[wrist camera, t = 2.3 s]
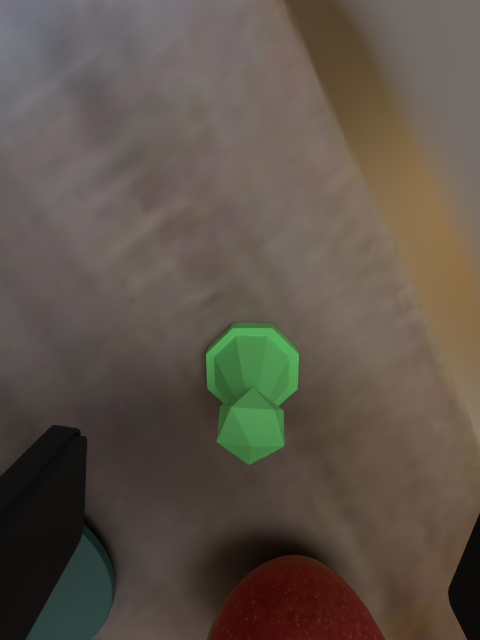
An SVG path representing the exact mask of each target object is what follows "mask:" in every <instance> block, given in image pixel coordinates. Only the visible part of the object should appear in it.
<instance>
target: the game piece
mask: <svg viewBox="0 0 480 640" xmlns="http://www.w3.org/2000/svg"><path fill="white" fill-rule="evenodd" d="M298 366H299V353H298V350H297V348H296V347H295V346H294V345H293V344H292V343H291V342H290V341H289V340H288V339H287V338H286V337H285V336H284V335H283V334H282V333H281V332H280V331H279V330H278V329H277V328H276V327H275V326H274V325H273V324H272V323H233V324H232V325H231V326H230V327H229V328H228V329H227V330H226V331H225V332H224V333H223V334H222V335H220V336H219V337H218V338H217V339H216V340H215V341H214V342H213V343H212V344H211V345H210V346H209V347H208V349H207V352H206V371H207V389H208V390H209V391H210V392H211V393H212V394H214V395H215V396H216V397H217V398H218V399H219V400H220V401H221V402H223V403H224V404H223V405H221V406H220V410H219V420H218V430H217V441H216V442H217V443H219V444H220V445H221V446H223V447H224V448H226V449H227V450H228V451H230V452H231V453H233V454H234V455H235V456H237V457H238V458H240V459H241V460H242V461H244V462H245V463H247V464H248V465H250V464H252V463H254V462H256V461H258V460H260V459H262V458H263V457H265V456H267V455H269V454H271V453H273V452H275V451H277V450H279V449H280V448H282V447H284V410H282V409H281V408H280V407H278V406H279V405H280V404H281V403H282V402H284V401H285V400H286V399H287V398H288V397H289V396H291V395H292V394H293V393H294V392H295V391H296V390H297V389H298Z"/></svg>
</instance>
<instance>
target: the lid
mask: <svg viewBox="0 0 480 640" xmlns="http://www.w3.org/2000/svg"><path fill="white" fill-rule="evenodd" d="M114 595H115V577H114V571H113V567H112V565H111V562H110V559H109V557H108V555H107V553H106V551H105V549H104V547H103V546H102V544H101V543H100V542H99V540H98V539H97V537H96V536H95V535H94V534H93V533H92V532H91V531H90V530H89V529H88V528H87V527H86V526H85V525H84V529H83V534H82V537H81V540H80V542H79V544H78V546H77V548H76V550H75V552H74V554H73V555H72V557H71V559H70V561H69V563H68V564H67V566H66V568H65V570H64V572H63V573H62V575H61V577H60V579H59V581H58V582H57V584H56V586H55V588H54V590H53V591H52V593H51V595H50V597H49V599H48V600H47V602H46V604H45V606H44V608H43V609H42V611H41V613H40V615H39V617H38V618H37V620H36V622H35V624H34V626H33V627H32V629H31V631H30V633H29V634H28V636H27V638H26V640H89V639H90V638H92V637H93V636H94V635H95V634H96V633H97V632H98V631H99V629H100V628H101V627H102V626H103V624H104V622H105V621H106V619H107V617H108V615H109V612H110V609H111V606H112V603H113V601H114Z"/></svg>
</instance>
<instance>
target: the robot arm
mask: <svg viewBox="0 0 480 640" xmlns="http://www.w3.org/2000/svg"><path fill="white" fill-rule="evenodd" d="M86 455H87V439H86V437H85V436H81V432H80V430H79V429H77V428H71V427H65V426H59V425H53V426H51V427H50V428H49V429H48V430H47V431H46V432H45V433H44V434H43V435H42V436H41V437H40V438H39V439H38V440H37V441H36V442H35V443H34V444H33V445H32V446H31V447H30V448H29V449H28V450H27V451H26V452H25V453H24V454H23V455H22V456H21V457H20V458H19V459H18V460H17V461H16V462H15V463H14V464H13V465H12V466H11V467H10V468H9V469H8V470H7V471H6V472H5V473H4V474H3V475H2V476H0V640H26V638H27V636H28V634H29V633H30V631H31V629H32V627H33V626H34V624H35V622H36V620H37V618H38V617H39V615H40V613H41V611H42V609H43V608H44V606H45V604H46V602H47V600H48V599H49V597H50V595H51V593H52V591H53V590H54V588H55V586H56V584H57V582H58V581H59V579H60V577H61V575H62V573H63V572H64V570H65V568H66V566H67V564H68V563H69V561H70V559H71V557H72V555H73V554H74V552H75V550H76V548H77V546H78V544H79V542H80V540H81V537H82V534H83V529H84V509H85V482H86ZM448 595H449V602H450V605H451V607H452V610H453V612H454V614H455V616H456V618H457V620H458V622H459V624H460V626H461V628H462V630H463V632H464V634H465V636H466V638H467V640H480V514H479V516H478V519H477V521H476V523H475V526H474V528H473V531H472V533H471V536H470V538H469V540H468V543H467V545H466V548H465V550H464V552H463V555H462V557H461V560H460V562H459V565H458V567H457V569H456V572H455V574H454V577H453V579H452V582H451V584H450V586H449V591H448Z"/></svg>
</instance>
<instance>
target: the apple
mask: <svg viewBox="0 0 480 640" xmlns="http://www.w3.org/2000/svg"><path fill="white" fill-rule="evenodd" d="M207 640H385V639H384V637H383V635H382V633H381V631H380V629H379V627H378V626H377V624H376V622H375V621H374V619H373V617H372V616H371V614H370V612H369V611H368V609H367V608H366V606H365V605H364V604H363V602H362V601H361V599H360V598H359V597H358V596H357V594H356V593H355V592H354V591H353V590H352V588H351V587H350V586H349V585H348V584H347V583H346V582H345V580H344V579H342V578H341V577H340V576H339V575H338V574H337V573H336V572H334V571H333V570H332V569H331V568H329V567H328V566H326V565H324V564H323V563H321V562H319V561H318V560H315V559H313V558H310V557H306V556H301V555H284V556H280V557H277V558H274V559H272V560H269V561H267V562H265V563H263V564H261V565H260V566H258V567H257V568H255V569H254V570H252V571H251V572H250V573H249V574H247V575H246V576H245V577H244V578H243V579H242V580H241V581H240V582H239V583H238V584H237V585H236V586H235V587H234V589H233V590H232V591H231V592H230V594H229V595H228V596H227V598H226V599H225V601H224V603H223V604H222V606H221V608H220V609H219V611H218V613H217V615H216V617H215V620H214V622H213V624H212V627H211V630H210V632H209V636H208V639H207Z"/></svg>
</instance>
